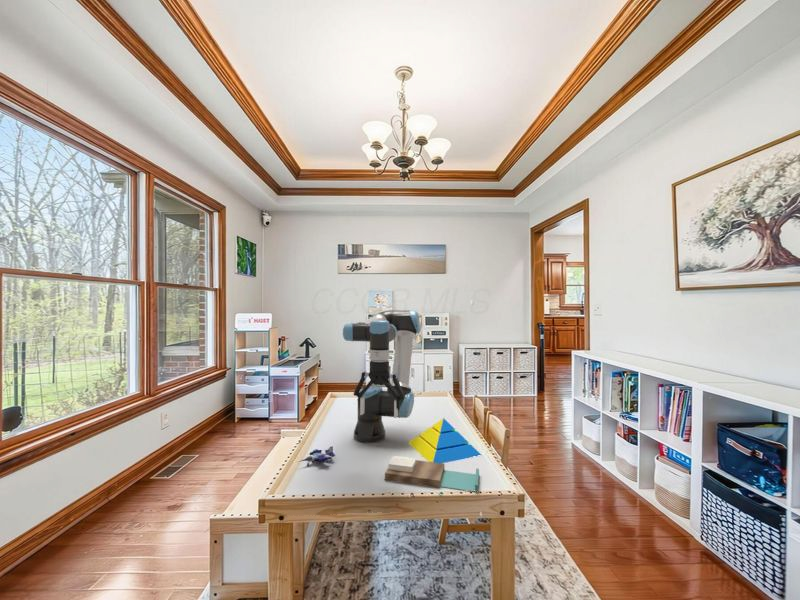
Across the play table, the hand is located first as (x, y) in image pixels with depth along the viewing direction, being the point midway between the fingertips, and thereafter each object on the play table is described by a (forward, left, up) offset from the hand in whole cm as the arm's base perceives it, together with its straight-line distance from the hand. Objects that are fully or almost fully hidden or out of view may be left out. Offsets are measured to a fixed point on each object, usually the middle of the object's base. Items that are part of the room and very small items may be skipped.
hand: (378, 415), depth 133 cm
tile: (+10, 0, -18) cm, 21 cm away
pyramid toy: (+22, +26, -22) cm, 40 cm away
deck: (+15, 0, -21) cm, 25 cm away
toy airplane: (-25, -1, -21) cm, 33 cm away
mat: (+31, 0, -21) cm, 37 cm away
